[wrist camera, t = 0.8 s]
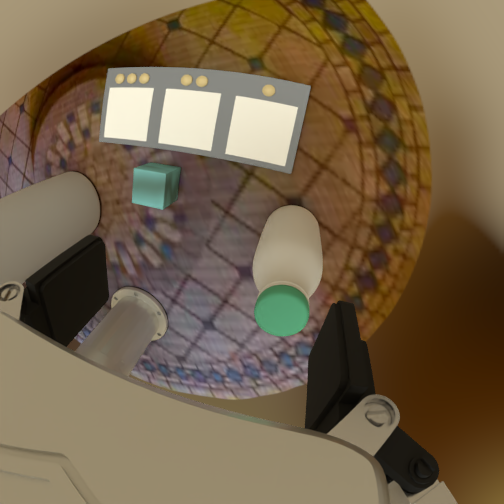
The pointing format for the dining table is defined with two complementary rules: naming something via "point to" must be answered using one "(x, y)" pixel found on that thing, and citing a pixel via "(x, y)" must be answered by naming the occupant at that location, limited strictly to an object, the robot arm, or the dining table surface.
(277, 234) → the milk bottle
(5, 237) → the cylinder vase
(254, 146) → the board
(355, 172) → the dining table surface
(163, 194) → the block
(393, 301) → the dining table surface
